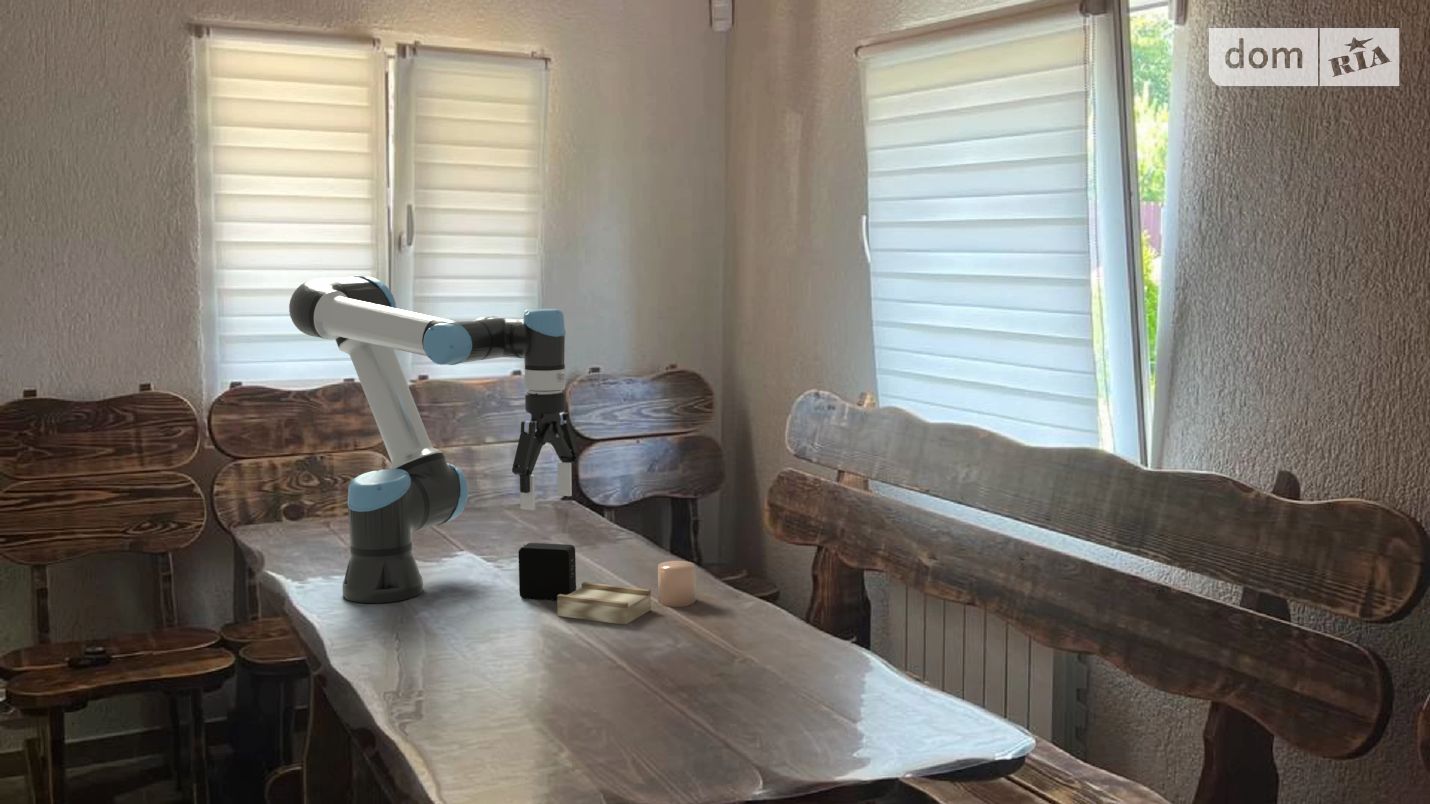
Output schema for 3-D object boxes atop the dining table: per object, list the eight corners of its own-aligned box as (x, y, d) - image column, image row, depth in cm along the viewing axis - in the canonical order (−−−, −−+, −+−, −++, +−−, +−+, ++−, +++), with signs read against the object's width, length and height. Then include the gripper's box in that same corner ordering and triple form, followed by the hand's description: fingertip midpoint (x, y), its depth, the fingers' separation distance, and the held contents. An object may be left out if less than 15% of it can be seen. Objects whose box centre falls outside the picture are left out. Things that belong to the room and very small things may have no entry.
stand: (557, 615, 238) (557, 595, 238) (584, 601, 247) (584, 581, 247) (625, 624, 232) (625, 604, 232) (650, 609, 242) (650, 589, 241)
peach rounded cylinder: (652, 604, 245) (651, 568, 244) (668, 594, 252) (667, 559, 251) (685, 608, 243) (685, 571, 242) (701, 598, 249) (701, 562, 248)
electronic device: (569, 601, 247) (568, 550, 246) (519, 598, 249) (518, 547, 248) (576, 595, 251) (575, 544, 250) (526, 592, 253) (525, 542, 252)
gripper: (527, 400, 232) (529, 517, 235) (594, 384, 255) (595, 491, 258) (491, 398, 235) (493, 513, 238) (561, 382, 258) (562, 488, 261)
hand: (546, 502), depth 248 cm, fingers open, 13 cm apart
